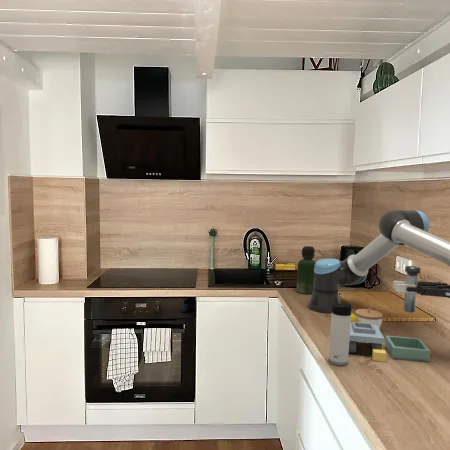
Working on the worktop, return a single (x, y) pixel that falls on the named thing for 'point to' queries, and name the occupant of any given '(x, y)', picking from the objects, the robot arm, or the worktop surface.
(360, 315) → the lidded jar
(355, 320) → the lemon
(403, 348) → the tray
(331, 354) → the travel mug
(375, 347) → the blue recessed platform
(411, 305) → the clear capped cylinder
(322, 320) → the worktop surface
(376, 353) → the block
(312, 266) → the green bottle
